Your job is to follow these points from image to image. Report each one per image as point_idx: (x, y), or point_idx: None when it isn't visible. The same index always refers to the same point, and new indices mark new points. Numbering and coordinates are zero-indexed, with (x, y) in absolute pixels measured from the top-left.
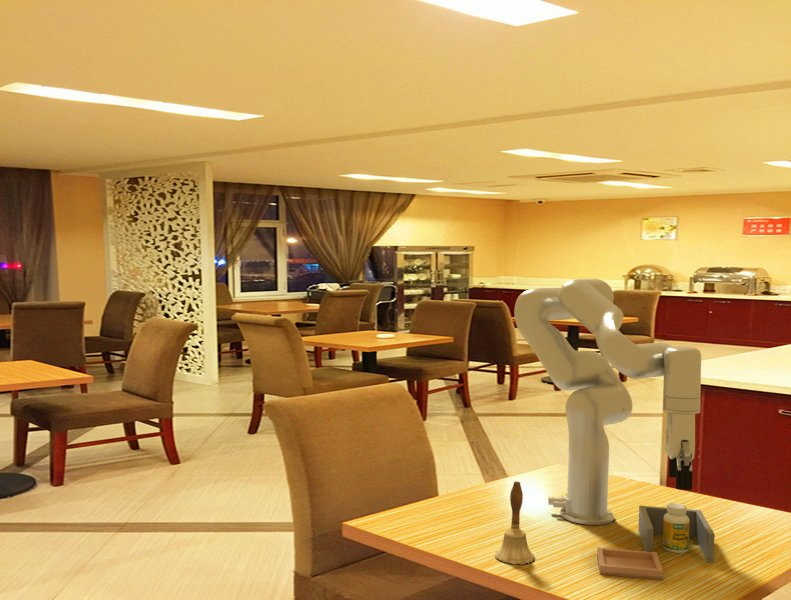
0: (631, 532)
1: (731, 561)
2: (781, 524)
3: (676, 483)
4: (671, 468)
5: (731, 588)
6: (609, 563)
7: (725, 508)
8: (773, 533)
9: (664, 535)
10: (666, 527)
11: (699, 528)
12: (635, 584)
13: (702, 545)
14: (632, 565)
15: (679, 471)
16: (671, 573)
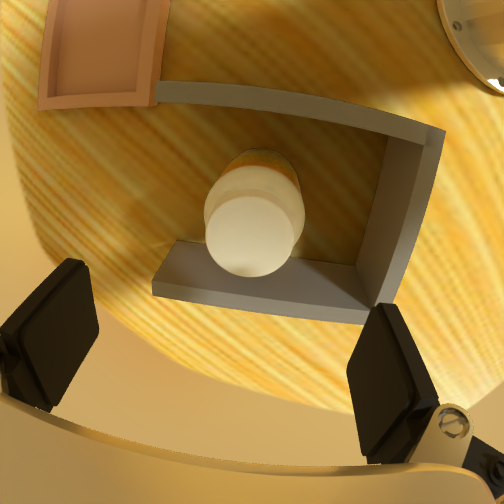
0: (395, 94)
1: None
2: None
3: (51, 274)
4: (385, 353)
5: (53, 241)
6: None
7: (490, 365)
8: None
9: (247, 155)
10: (234, 165)
11: (300, 283)
12: (29, 52)
13: None
14: (96, 40)
15: (8, 343)
16: (87, 132)
